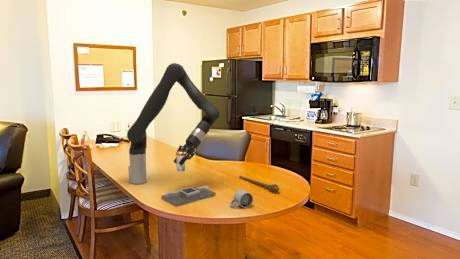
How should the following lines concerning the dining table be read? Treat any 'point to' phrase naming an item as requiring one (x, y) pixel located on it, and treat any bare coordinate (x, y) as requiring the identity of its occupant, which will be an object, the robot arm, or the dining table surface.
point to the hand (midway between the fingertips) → (177, 163)
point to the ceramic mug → (242, 199)
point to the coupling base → (188, 195)
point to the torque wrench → (272, 188)
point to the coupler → (178, 158)
